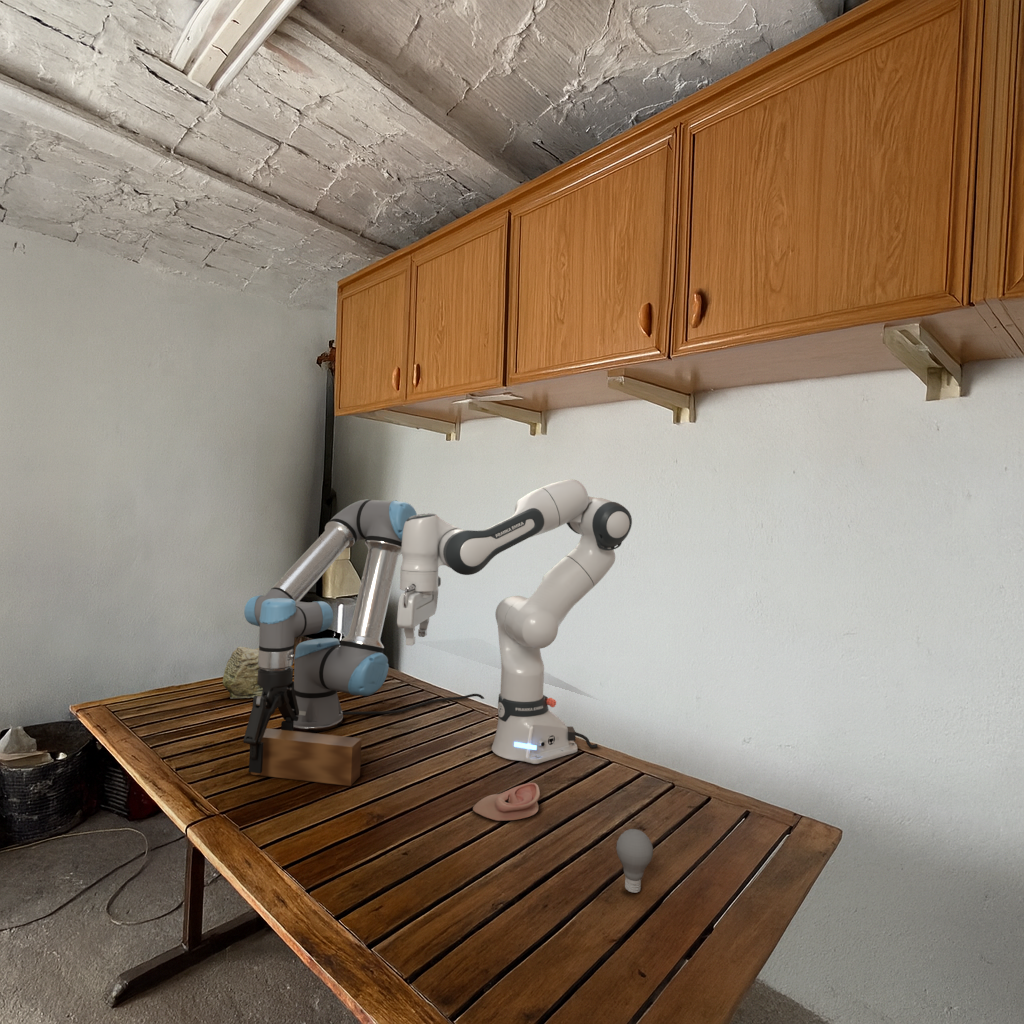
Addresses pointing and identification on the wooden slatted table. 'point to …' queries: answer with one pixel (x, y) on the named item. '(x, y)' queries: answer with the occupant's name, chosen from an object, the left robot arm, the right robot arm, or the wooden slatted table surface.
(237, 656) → the fossil
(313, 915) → the wooden slatted table surface
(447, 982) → the wooden slatted table surface
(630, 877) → the light bulb
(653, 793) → the wooden slatted table surface
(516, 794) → the anatomical model
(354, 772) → the bar
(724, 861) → the wooden slatted table surface
